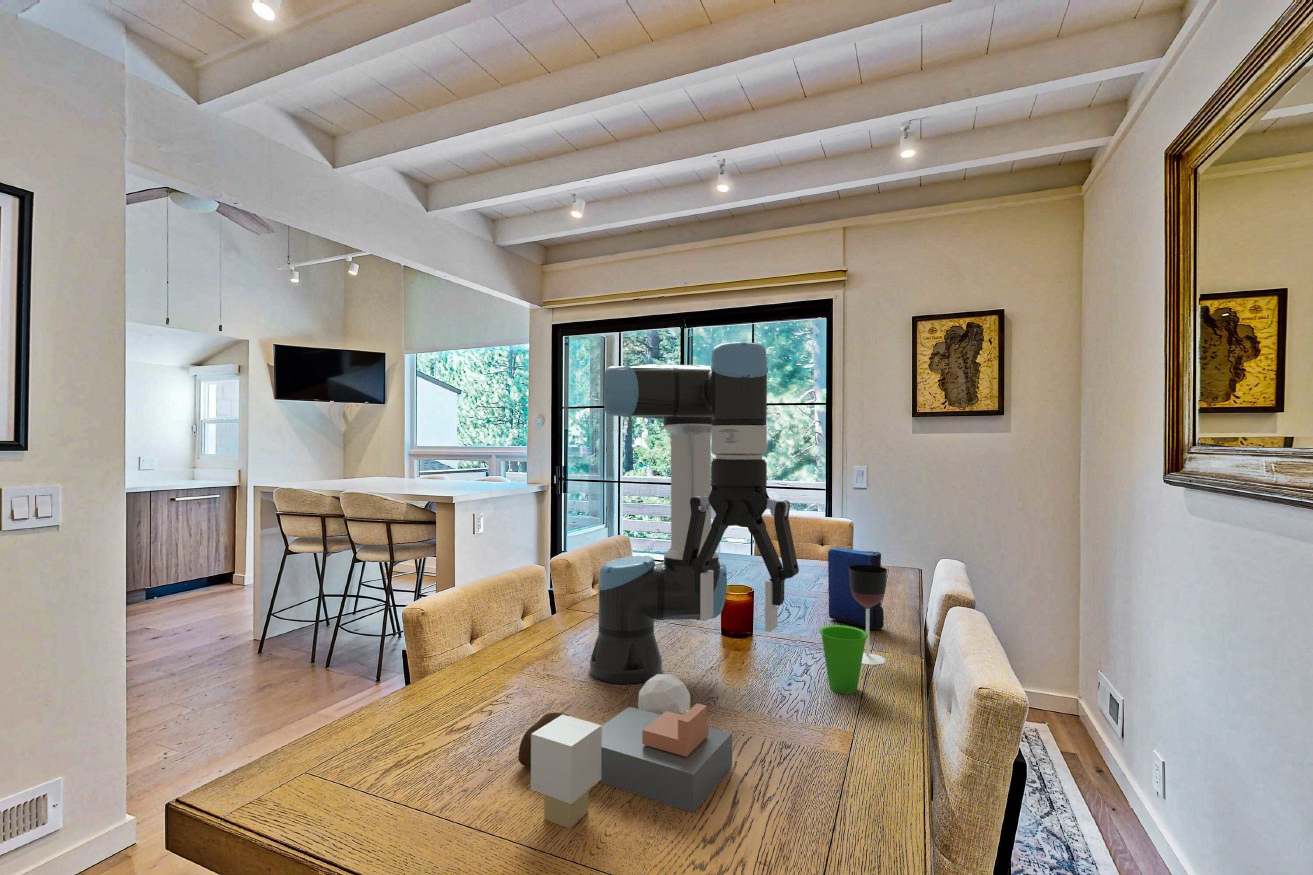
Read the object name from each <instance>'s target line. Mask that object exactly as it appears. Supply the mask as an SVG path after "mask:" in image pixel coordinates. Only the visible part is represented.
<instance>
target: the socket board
mask: <svg viewBox="0 0 1313 875" xmlns="http://www.w3.org/2000/svg"><path fill="white" fill-rule="evenodd" d="M659 716H661V715H659V714H655V713H651V712H647V711H644V710H640V709H638V708H636V707H631V706H628V707H626V708H625V709H623V710H622V711H621V712H619V713H618V714H616V715H615V716H613V717H612V718H611V719H609V721H607V722H605V723H604V724H603V725H602V724H601V725H602V738H601V780H600V781H598V783H602V784H604V785H605V784H606V785H608V786H611V787H613V788H614V787H615V788H617V789H619V790H623V791H626V792H629V793H632V794H634V795H638V796H640V797H644V798H646V799H650V800H653V801H656V802H659V803H661V804H665V805H667V806H671V807H673V808H677V809H680V810H682V811H686V812H688V813H692V814H694V813H695V812H696V811H697V810H698V809H699V807H700V806H701V805H702V804H703V802H704V801H705V800H706V799H707V798H708V796H709V795H710V794H711V793H712V791H713V790H714V789H715V788H716V787H717V786H718V784H719V783H720V782H721V781H722V779H723V778H724V777H725V776H726V775H727V774H728V772H729V771H730V770H731V769H732V768H733V732H729V731H725V730H721V729H719V728H714V727H710V726H708V736H707V737H706V738H705V739H704V740H703V741H702V742H701V743H700V744H699V745H698V746H697V747H696V748H695V749H694V750H693V751H692V752H691V753H690V754H689V755H688V756H687V757H685V756H682V755H678V754H675V753H671V752H668V751H664V750H661V749H658V748H654V747H651V746H647V745H644V744H642V730H643V729H644V728H646V727H647V726H648V725H649V724H651V723H652V722H653V721H654V720H656V719H657V718H658V717H659Z"/></svg>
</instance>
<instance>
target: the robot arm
mask: <svg viewBox="0 0 1313 875" xmlns="http://www.w3.org/2000/svg"><path fill="white" fill-rule="evenodd" d="M604 370H605V371H604V376H603V377H604V384H603V386H604V388H603V394H604V395H603V397H604V399H603V401H604V402H603V403H604V406H603V408H604V412H605V414H606V415H609V416H612V417H613V416H615V417H616V416H617V417H621V418H622V417H623V418H625V417H626V418H629V417H637V418H641V419H642V418H643V419H658V420H659V419H661V420H663V429H664V430H666V432H668V434H669V435H670V515H671V516H670V527H671V528H670V536H671V537H670V540H671V543H670V548H668V550H667V551H666V552H665V553H664V554H663V563H656V561H655V559H654V557H653V556H650V555H632V556H626V557H619V558H615V559H613V560H610V561H607V562H606V563H604V564H602V566H601V568H600V570H599V574H598V575H599V576H598V585H597V590H598V635H597V637H596V640H595V643H594V648H593V650H592V653H591V657H590V661H589V672H590V674H591V676H592V677H594V678H595V679H597V680H598V681H599V680H600V681H602V682H604V683H605V682H606V683H610V684H621V685H623V684H624V685H625V684H626V685H627V684H638V683H642V682H643V683H644V682H647V681H648V680H649V679H651V678H652V677H654V676H655V675H657V674H662V671H663V659H662V658H663V657H662V655H661V653H660V649H659V646H658V642H657V639H656V637H655V636H656V635H655V631H654V630H655V628H654V627H655V621H678V620H679V621H685V620H686V621H687V620H689V621H690V620H692V621H693V620H696V621H701V622H706V621H708V620H710V619H716V618H717V617H718V616H720V614H721V613H722V611H723V609H724V606H725V602H726V596H727V589H728V577H727V575H728V574H727V573H728V572H727V567H726V565H725V564H724V563H723V562H722V561H720V560H719V553H717V552H716V551H717V549H718V547H719V545H720V542H721V540H722V538H723V536H724V534H725V532H726V530H727V529H728V528H729V527H732V526H739V527H742V528H747V529H748V531H749V533H750V534H751V536H752V538H753V539H754V540H753V541H754V542H755V544H756V546H757V549H758V551H759V553H760V555H761V558H762V560H763V563H764V565H765V567H766V570H767V572H768V575H769V576H770V578H768V579H767V580H765V581H764V582H765V585H764V589H765V592H764V595H765V596H764V600H765V602H764V605H765V606H764V610H765V615H764V619H765V621H764V624H765V625H764V626H765V627H764V630H765V632H770V633H771V632H773V631H774V630H775V629H776V628H777V627H778V606H781V605H783V604H784V602H785V580H786V579H791V578H794V577H795V576H796V575H798V574H799V572H800V569H799V564H798V559H797V554H796V549H795V545H794V539H793V534H792V530H791V524H790V519H789V515H790V508H791V503H790V501H789V500H778V499H772V498H770V497H769V494H768V492H767V485H768V484H767V480H768V479H767V478H768V477H767V473H768V472H767V469H768V468H767V467H768V466H767V463H768V462H767V461H766V459H763V456H765V455H767V451H768V443H767V442H768V437H767V435H768V434H767V432H768V430H767V416H768V415H767V414H768V413H767V412H768V411H767V410H768V409H767V407H768V405H767V404H768V399H767V398H768V395H767V394H768V392H767V391H768V373H769V368H768V361H767V351H766V349H765V347H764V346H763V345H761V344H760V343H756V342H747V341H746V342H742V341H741V342H740V341H739V342H726V343H725V342H724V343H720V344H718V345H716V346H715V347H713V349H712V351H711V363H710V365H701V364H642V365H636V366H635V365H633V366H631V365H621V366H619V365H618V366H608V367H607V368H606V369H604ZM712 455H713V456H715V458H713V459H712V458H711V457H712ZM711 459H712V460H711ZM767 508H768V509H769V511H770V515H771V516H772V517H773V523H774V530H775V533H776V538H777V543H778V547H779V553H780V557H779V555H778V552H777V551H776V548H775V546H774V544H773V542H772V539H771V536H770V535H769V533H768V530H767V525H766V522H765V521H764V518H763V514H764V513H765V511H766V510H767ZM712 510H713V511H714V513H715V516H714V518H713V520H712Z"/></svg>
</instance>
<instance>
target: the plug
mask: <svg viewBox="0 0 1313 875" xmlns="http://www.w3.org/2000/svg"><path fill="white" fill-rule="evenodd" d="M601 738H602V724H598V723H595V722H591V721H587V720H584V719H581V718H577V717H573V716H571V715H569V716H566V715H561V716H559V717H558V718H556V719H554V720H553V721H551V722H550V723H548V724H546V725H545V726H543V727H541V728H540V729H538V730H537V731H535V732H533V733H532V734H531V768H530V790H532V791H534V792H538V793H540V794H543V795H544V797H543V798H544V799H543V802H544V804H543V805H544V806H543V820H546V821H548V822H551V823H554V824H557V825H559V826H562V827H564V828H567V829H571V828H572V827H573V826H574V825H575V824H577V823H578V822H579V821H580V820H581V819H582V818H583V817H584V816H585V815H586V814H588V813H589V790H590V789H591V788H593V787H594V786H595V785H597V783H599V781H600V780H601Z"/></svg>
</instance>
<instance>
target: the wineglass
mask: <svg viewBox="0 0 1313 875" xmlns="http://www.w3.org/2000/svg"><path fill="white" fill-rule="evenodd" d="M887 574H888V570H887V568H885V567H883V566H881V567H880V566H874V565H853V566H850V567H849V578H850V588H851V592H852V595H853V597H854V599H855V600H856V601H857V602H858V603H859V604H861V605H863V606H864V607H865V608H866V627H865V632H866V633H867V635H868V637H867V638H866V640H865V652H863V658H862V664H864V665H872V666H874V665H882V664H885V663H886V658H884V657H883V656H881V655H877V654H875V653H870V629H869V616H870V608H871V607H873V606H875V605H877V604H878V603H879V602H881V603H882V601H883V599H884V597H885V593H886V589H887Z"/></svg>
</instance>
